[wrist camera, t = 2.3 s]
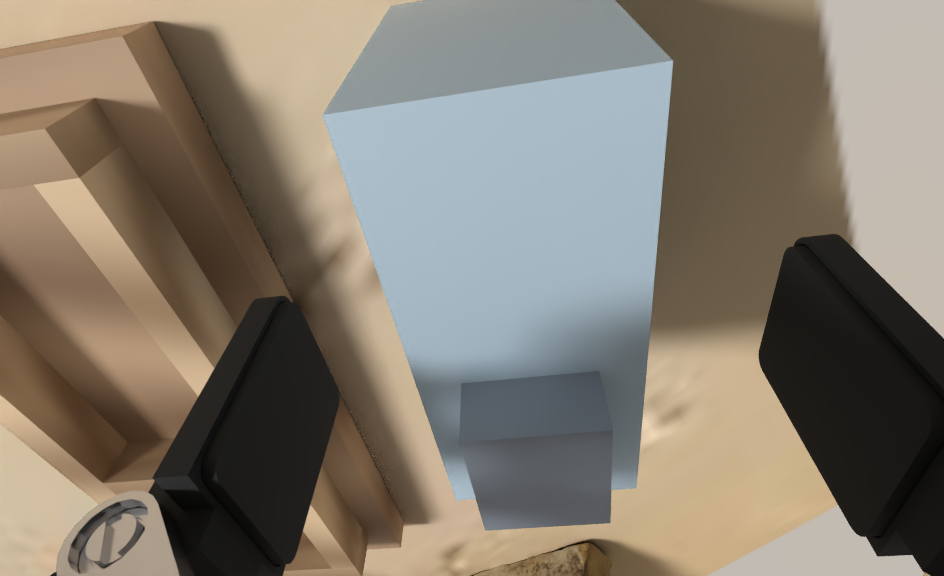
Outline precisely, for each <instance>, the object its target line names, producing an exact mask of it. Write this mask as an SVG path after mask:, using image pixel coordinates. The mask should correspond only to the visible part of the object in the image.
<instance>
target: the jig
mask: <svg viewBox="0 0 944 576" xmlns="http://www.w3.org/2000/svg"><path fill="white" fill-rule="evenodd" d="M274 296H286V297H287V298H288V299H289V300H290V302H293V300H292V298H291V296H290V294H289V292H288V290H287V288H286V286H285V284H284V282H283V280H282V278H281V276H280V274H279V272H278V270H277V268H276V266H275V264H274V262H273V260H272V258H271V256H270V254H269V252H268V250H267V248H266V246H265V244H264V242H263V240H262V238H261V236H260V234H259V232H258V230H257V228H256V226H255V224H254V222H253V220H252V218H251V216H250V214H249V212H248V210H247V208H246V206H245V204H244V202H243V200H242V198H241V196H240V194H239V192H238V190H237V188H236V186H235V184H234V182H233V180H232V178H231V176H230V174H229V172H228V170H227V168H226V166H225V164H224V162H223V160H222V158H221V156H220V154H219V152H218V150H217V148H216V146H215V144H214V142H213V140H212V138H211V136H210V134H209V132H208V130H207V128H206V126H205V124H204V122H203V120H202V118H201V116H200V114H199V112H198V110H197V108H196V106H195V104H194V102H193V100H192V98H191V96H190V94H189V92H188V90H187V88H186V86H185V84H184V82H183V80H182V78H181V76H180V74H179V72H178V70H177V68H176V66H175V64H174V62H173V60H172V58H171V56H170V54H169V52H168V50H167V48H166V46H165V44H164V42H163V40H162V38H161V36H160V34H159V32H158V30H157V28H156V26H155V24H154V22H153V21H152V22H146V23H141V24H135V25H130V26H124V27H119V28H113V29H108V30H102V31H97V32H92V33H86V34H81V35H75V36H70V37H64V38H59V39H53V40H48V41H42V42H37V43H31V44H26V45H21V46H15V47H10V48H4V49H0V424H1V425H3V426H4V427H5V428H6V429H7V430H9V431H10V432H11V433H12V434H14V435H15V436H16V437H17V438H18V439H20V440H21V441H22V442H23V443H25V444H26V445H27V446H28V447H30V448H31V449H32V450H33V451H34V452H36V453H37V454H38V455H39V456H41V457H42V458H43V459H44V460H45V461H47V462H48V463H49V464H50V465H52V466H53V467H54V468H55V469H56V470H58V471H59V472H60V473H61V474H63V475H64V476H65V477H66V478H68V479H69V480H70V481H71V482H72V483H74V484H75V485H76V486H77V487H79V488H80V489H81V490H82V491H83V492H85V493H86V494H87V495H88V496H90V497H91V498H92V499H93V500H94V501H96V502H97V503H98V504H101V503H102V502H104V501H106V500H108V499H110V498H112V497H114V496H116V495H118V494H121V493H125V492H129V491H145V492H147V493H148V492H149V490H150V489H151V487H152V485H153V483H154V480H153V479H152V478H153V476H154V474H155V472H156V470H157V469H158V467H159V465H160V463H161V462H162V460H163V458H164V456H165V455H166V453H167V451H168V449H169V448H170V446H171V444H172V442H173V441H174V439H175V437H176V435H177V434H178V432H179V430H180V428H181V426H182V425H183V423H184V421H185V419H186V418H187V416H188V414H189V412H190V411H191V409H192V407H193V405H194V404H195V402H196V400H197V398H198V397H199V395H200V393H201V391H202V389H203V388H204V386H205V384H206V382H207V381H208V379H209V377H210V375H211V374H212V372H213V370H214V368H215V367H216V365H217V363H218V361H219V360H220V358H221V356H222V354H223V352H224V351H225V349H226V347H227V345H228V344H229V342H230V340H231V338H232V337H233V335H234V333H235V331H236V330H237V328H238V326H239V324H240V323H241V321H242V319H243V317H244V315H245V314H246V312H247V310H248V308H249V307H250V305H251V303H252V302H253V301H254V300H255V299H257V298H265V297H274ZM339 397H340V401H339V407H338V411H337V414H336V418H335V421H334V425H333V428H332V432H331V435H330V439H329V442H328V446H327V449H326V453H325V456H324V459H323V463H322V466H321V470H320V473H319V477H318V480H317V484H316V487H315V491H314V494H313V498H312V501H311V505H310V508H309V512H308V515H307V519H306V522H305V526H304V529H303V533H302V536H301V539H300V543H299V546H298V550H297V553H296V556H295V558H294V560H293V562H291V563H290V564H286V566H285V570H284V573H283V576H362V575H363V569H364V563H365V557H366V551H367V549H383V548H400V547H401V541H402V533H403V524H404V521H403V519H402V517H401V515H400V513H399V511H398V509H397V507H396V505H395V503H394V501H393V499H392V497H391V495H390V493H389V491H388V489H387V487H386V485H385V483H384V481H383V479H382V477H381V475H380V473H379V471H378V469H377V467H376V465H375V463H374V461H373V459H372V457H371V455H370V453H369V451H368V449H367V447H366V445H365V443H364V441H363V439H362V437H361V435H360V433H359V431H358V429H357V427H356V425H355V423H354V421H353V419H352V417H351V415H350V413H349V411H348V409H347V407H346V405H345V403H344V401H343V399H342V397H341V395H340V393H339Z"/></svg>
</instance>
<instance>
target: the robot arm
mask: <svg viewBox="0 0 944 576" xmlns="http://www.w3.org/2000/svg"><path fill="white" fill-rule="evenodd" d="M759 362H760V366H761V368H762V371H763V373H764V374H765V376H766V378H767V380H768V381H769V383H770V385H771V387H772V388H773V390H774V392H775V394H776V396H777V397H778V399H779V401H780V403H781V404H782V406H783V408H784V410H785V411H786V413H787V415H788V417H789V419H790V420H791V422H792V424H793V426H794V427H795V429H796V431H797V433H798V434H799V436H800V438H801V440H802V442H803V443H804V445H805V447H806V449H807V450H808V452H809V454H810V456H811V457H812V459H813V461H814V463H815V465H816V466H817V468H818V470H819V472H820V473H821V475H822V477H823V479H824V480H825V482H826V484H827V486H828V487H829V489H830V491H831V493H832V495H833V496H834V498H835V500H836V502H837V503H838V505H839V507H840V509H841V510H842V512H843V514H844V516H845V517H846V519H847V521H848V523H849V525H850V526H851V528H852V529H853V530H854V532H855V533H856V534H858V535H859V536H862V537H863V536H864V537H865V536H866V537H867V539H868V541H869V542H870V544H871V546H872V548H873V549H874V551H875V553H876V555H877V556H897V555H913V556H914V558H915V560H916V561H917V563H918V564H919V566H920V567H921V569H922V571H923V572H924V575H923V576H944V339H943V338H942V336H941V335H939V333H938V332H937V331H936V330H935V329H934V328H933V327H931V326H930V325H929V324H928V323H927V322H926V321H925V320H924V319H923V318H922V317H921V316H920V315H919V314H918V313H917V312H916V311H915V310H914V309H913V308H912V307H911V306H910V305H909V304H908V303H907V302H906V301H905V300H904V299H903V298H902V297H901V296H900V295H899V294H898V293H897V292H896V291H895V290H894V289H893V288H892V287H891V286H890V285H889V284H888V283H887V282H886V281H885V280H884V279H883V278H882V277H881V276H880V275H879V274H878V273H877V272H876V271H875V270H874V269H873V268H872V267H871V266H870V265H869V264H868V263H867V262H866V261H865V260H864V259H863V258H862V257H861V256H860V255H859V254H858V253H857V252H856V251H855V250H854V249H853V248H852V247H851V246H850V245H849V244H848V243H847V242H846V241H845V240H844V239H843V238H842V237H840V236H839V235H836V234H830V235H821V236H812V237H803V238H800V239H798V240H797V241H796V242H795V244H794V247H789V248H787V249H786V251H785V253H784V256H783V260H782V264H781V268H780V272H779V275H778V279H777V283H776V287H775V291H774V295H773V299H772V303H771V307H770V310H769V314H768V318H767V322H766V326H765V330H764V334H763V338H762V341H761V345H760V349H759ZM339 401H340V397H339V390H338V388H337V385H336V383H335V381H334V379H333V377H332V375H331V373H330V371H329V368H328V366H327V364H326V362H325V360H324V358H323V356H322V354H321V351H320V349H319V347H318V345H317V343H316V341H315V339H314V337H313V335H312V332H311V330H310V328H309V326H308V324H307V322H306V320H305V318H304V315H303V313H302V311H301V309H300V307H299V305H298V304H297V303H296V302H290V300H289V299H288V298H287V297H286V296H274V297H265V298H257V299H255V300H254V301H253V302H252V303H251V305H250V307H249V308H248V310H247V312H246V314H245V315H244V317H243V319H242V321H241V323H240V324H239V326H238V328H237V330H236V331H235V333H234V335H233V337H232V338H231V340H230V342H229V344H228V345H227V347H226V349H225V351H224V352H223V354H222V356H221V358H220V360H219V361H218V363H217V365H216V367H215V368H214V370H213V372H212V374H211V375H210V377H209V379H208V381H207V382H206V384H205V386H204V388H203V389H202V391H201V393H200V395H199V397H198V398H197V400H196V402H195V404H194V405H193V407H192V409H191V411H190V412H189V414H188V416H187V418H186V419H185V421H184V423H183V425H182V426H181V428H180V430H179V432H178V434H177V435H176V437H175V439H174V441H173V442H172V444H171V446H170V448H169V449H168V451H167V453H166V455H165V456H164V458H163V460H162V462H161V463H160V465H159V467H158V469H157V470H156V472H155V474H154V476H153V478H152V479H153V480H154V483H153V485H152V487H151V489H150V490H149V492H148V493H147V492H145V491H129V492H125V493H121V494H118V495H116V496H114V497H112V498H110V499H108V500H106V501H104V502H102V503H101V504H99V505H98V506H97V507H95V508H94V509H92V510H91V511H90V512H88V513H87V514H86V515H85V516H84V517H83V518H82V519H81V520H80V521H79V522H78V523H77V524H76V525H75V526H74V528H73V529H72V530H71V532H70V533H69V534H68V536H67V537H66V539H65V540H64V542H63V544H62V547H61V549H60V551H59V553H58V557H57V566H56V572H55V573H53V574H52V575H51V576H283V573H284V570H285V566H286V564H290V563H291V562H293V560H294V558H295V556H296V553H297V550H298V546H299V543H300V539H301V536H302V533H303V529H304V526H305V522H306V519H307V515H308V512H309V508H310V505H311V501H312V498H313V494H314V491H315V487H316V484H317V480H318V477H319V473H320V470H321V466H322V463H323V459H324V456H325V453H326V449H327V446H328V442H329V439H330V435H331V432H332V428H333V425H334V421H335V418H336V414H337V411H338V407H339Z"/></svg>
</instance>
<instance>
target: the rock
mask: <svg viewBox="0 0 944 576" xmlns="http://www.w3.org/2000/svg"><path fill="white" fill-rule="evenodd" d="M611 566H612V563H611V560H610V559H609V558H608V557H607V556H605V555H604V554H603V553H602V552H601V551H600V550H599V549H598V548H597V547H596V546H594V545H592V544H591V543H583V544H579V545H573V546H570V547H566V548H564V549H562V550H558V551H554V552H549V553H545V554H540V555H537V556H533V557H530V558H528V559H527V560H523V561H519V562H516V563H513V564H508V565H502V566H498V567H495V568H492V569H490V570H486V571H482V572H480V573H478V574H475V575H473V576H610V569H611Z"/></svg>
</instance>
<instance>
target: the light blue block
mask: <svg viewBox="0 0 944 576" xmlns="http://www.w3.org/2000/svg"><path fill="white" fill-rule="evenodd" d="M672 69H673V60H672V59H671V58H670V57H669V56H668V55H667V54H666V53H665V52H664V50H663V49H662V48H661V47H660V46H659V45H658V44H657V43H656V42H655V41H654V40H653V39H652V38H651V37H650V36H649V35H648V34H647V33H646V32H645V31H644V30H643V29H642V28H641V27H640V26H639V25H638V24H637V22H636V21H635V20H634V19H633V18H632V17H631V16H630V15H629V14H628V13H627V12H626V11H625V10H624V9H623V8H622V7H621V6H620V5H619V4H618V3H617V2H616V1H615V0H423V1H417V2H412V3H406V4H400V5H395V6H391V7H390V8H389V10H388V11H387V13H386V14H385V16H384V18H383V19H382V21H381V22H380V24H379V26H378V27H377V29H376V30H375V32H374V34H373V35H372V37H371V38H370V40H369V42H368V43H367V45H366V46H365V48H364V49H363V51H362V53H361V54H360V56H359V57H358V59H357V61H356V62H355V64H354V65H353V67H352V69H351V70H350V72H349V73H348V75H347V77H346V78H345V80H344V81H343V83H342V85H341V86H340V88H339V89H338V91H337V92H336V94H335V96H334V97H333V99H332V100H331V102H330V104H329V105H328V107H327V108H326V110H325V112H324V113H323V115H322V116H323V118H324V121H325V124H326V127H327V130H328V133H329V136H330V138H331V141H332V144H333V147H334V150H335V153H336V156H337V159H338V161H339V164H340V167H341V170H342V173H343V176H344V179H345V182H346V184H347V187H348V190H349V193H350V196H351V199H352V202H353V205H354V207H355V210H356V213H357V216H358V219H359V222H360V225H361V228H362V230H363V233H364V236H365V239H366V242H367V245H368V248H369V251H370V253H371V256H372V259H373V262H374V265H375V268H376V271H377V274H378V276H379V279H380V282H381V285H382V288H383V291H384V294H385V297H386V299H387V302H388V305H389V308H390V311H391V314H392V317H393V320H394V322H395V325H396V328H397V331H398V334H399V337H400V340H401V343H402V345H403V348H404V351H405V354H406V357H407V360H408V363H409V366H410V368H411V371H412V374H413V377H414V380H415V383H416V386H417V389H418V391H419V394H420V397H421V400H422V403H423V406H424V409H425V412H426V414H427V417H428V420H429V423H430V426H431V429H432V432H433V434H434V437H435V440H436V443H437V446H438V449H439V452H440V455H441V457H442V460H443V463H444V466H445V469H446V472H447V475H448V478H449V480H450V483H451V486H452V489H453V492H454V495H455V498H456V500H468V499H476V501H477V504H478V507H479V511H480V514H481V517H482V521H483V524H484V527H485V531H486V530H502V529H519V528H536V527H553V526H569V525H586V524H603V523H610V516H611V490H618V489H633V488H636V486H637V475H638V463H639V452H640V440H641V428H642V417H643V405H644V394H645V382H646V371H647V359H648V347H649V336H650V324H651V313H652V301H653V289H654V278H655V266H656V255H657V243H658V231H659V220H660V208H661V197H662V185H663V173H664V162H665V150H666V139H667V127H668V115H669V104H670V92H671V81H672Z"/></svg>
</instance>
